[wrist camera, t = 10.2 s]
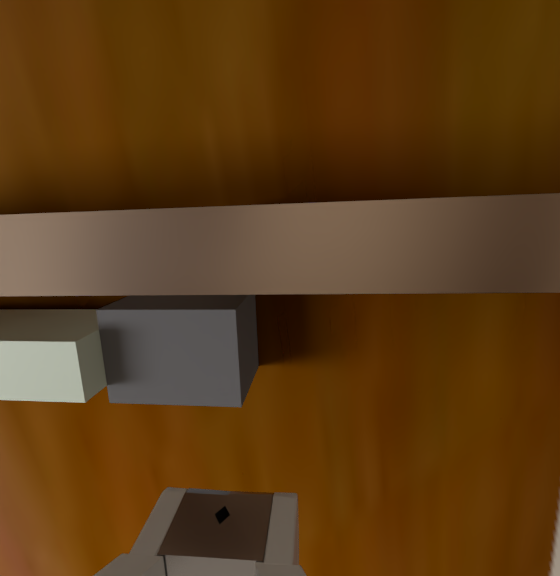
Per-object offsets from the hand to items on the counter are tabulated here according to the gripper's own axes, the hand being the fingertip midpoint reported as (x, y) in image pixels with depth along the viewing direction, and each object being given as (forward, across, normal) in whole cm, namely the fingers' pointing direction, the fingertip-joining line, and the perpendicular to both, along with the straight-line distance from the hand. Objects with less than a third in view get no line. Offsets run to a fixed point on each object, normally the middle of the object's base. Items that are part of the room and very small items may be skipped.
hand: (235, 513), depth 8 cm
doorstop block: (+14, +5, 0) cm, 15 cm away
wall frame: (+14, +9, -6) cm, 17 cm away
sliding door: (+13, +16, 0) cm, 21 cm away
